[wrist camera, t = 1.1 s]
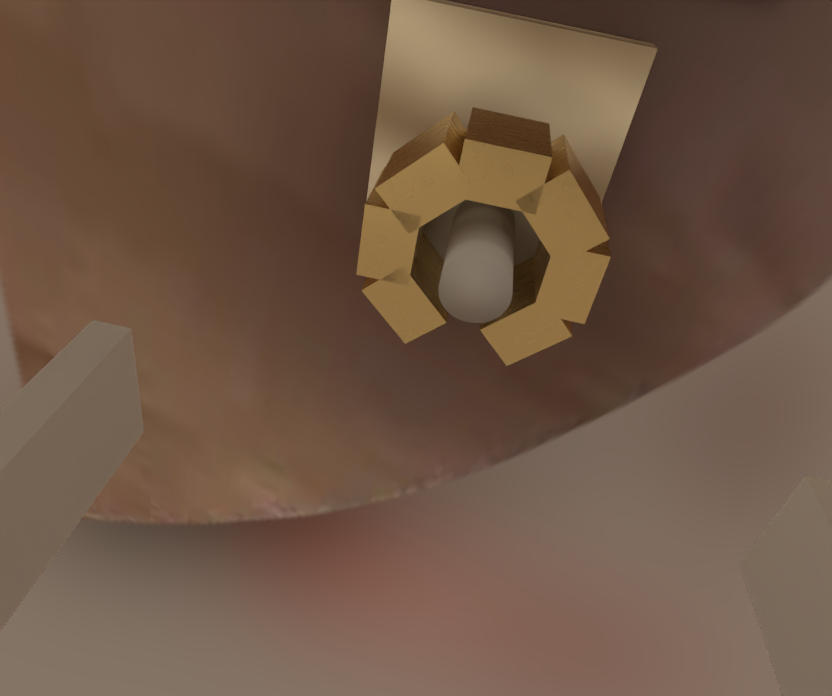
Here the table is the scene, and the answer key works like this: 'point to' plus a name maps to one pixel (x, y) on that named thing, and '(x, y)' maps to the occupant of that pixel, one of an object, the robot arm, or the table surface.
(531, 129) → the c link
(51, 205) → the table surface
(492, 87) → the peg stand
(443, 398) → the table surface
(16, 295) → the table surface
